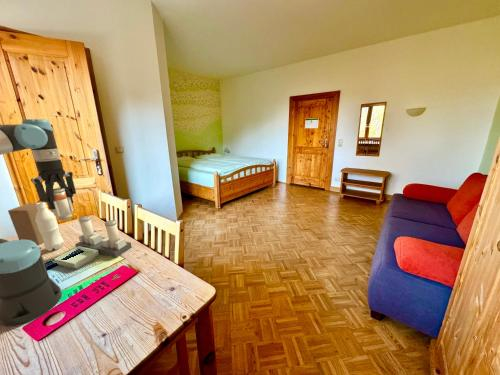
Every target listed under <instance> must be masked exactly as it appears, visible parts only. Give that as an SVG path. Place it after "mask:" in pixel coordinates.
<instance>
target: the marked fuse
mask: <svg viewBox="0 0 500 375" xmlns="http://www.w3.org/2000/svg"><path fill="white" fill-rule="evenodd" d="M53 196H54V201H56V202H57V205H58V208H59V212H60V215H61V216H57V219H58V220H59V221H65V220H68V219H69V220H70V219H71V218H73V214H72V212H71V210H70V207H69V204H68V200H67V196H66V193H65V189H64V188H60V187H55V188H53Z"/></svg>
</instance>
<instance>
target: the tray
mask: <svg viewBox="0 0 500 375" xmlns="http://www.w3.org/2000/svg"><path fill="white" fill-rule="evenodd" d="M78 249H81V250H83V251H84V252H83V253H80V254H78V255H76V256H74V257H71V258H69V259H67V260H61V259H63V258H65V257H66V256H68V255H69V254H71V253H72V252H74V251H76V250H78ZM100 256H101V255H100V254H99V252H98V250H94V249H90V248H85V247H80V246H78V247H76V246H75V247H74V248H72V249H70V250H68V251H67V252H64V253H63V254H61V255H59V256H57V257H55V258H53V261H54V264H55V263H57V264H58V265H57V266H60V267H63V268H68V269H71V270H76V271H77V270H79V269H80V268H82V267H83V266H85V265H87V264H88V263H90V262H91V261H93V260H95V259H97V258H98V257H100Z"/></svg>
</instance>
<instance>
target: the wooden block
mask: <svg viewBox="0 0 500 375" xmlns="http://www.w3.org/2000/svg"><path fill="white" fill-rule="evenodd" d="M36 203H37V202H36ZM36 203H29V202H28V203H26V204H23V205H20V206H17V207H14V208H11V209H8V210H7V212H8V215H9V217H10V219H11V222H12V226H13V227H14V231H15V232H16V235H17V237H18V241H19V240H31V241H33V242H35V243H36V244H37V246H39V245H41V244H44V241H43V237H42V235H41V233H40V231H39V229H38V226H37V223H36V221H35V218H36V215H37V213H38V209H37V205H36Z"/></svg>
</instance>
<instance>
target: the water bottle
mask: <svg viewBox="0 0 500 375" xmlns="http://www.w3.org/2000/svg"><path fill="white" fill-rule="evenodd" d="M36 205H37V209H38V213H37V215H36V218H35V221H36V223H37V226H38V229H39V231H40V233H41V235H42V237H43V241H44V242H43V246H44V248H45V249H46V250H47V251H49V252H52V251H53V250H57V251H58V250H59V249H61V247H63V246H64V242H65V241H64V239H63V237H62V236H61V233H60V228H59V224H58V220H57V216H54V213H53V211H51V209H49V208H48V205H47V203H46V202H41V201H40V202H36Z"/></svg>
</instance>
